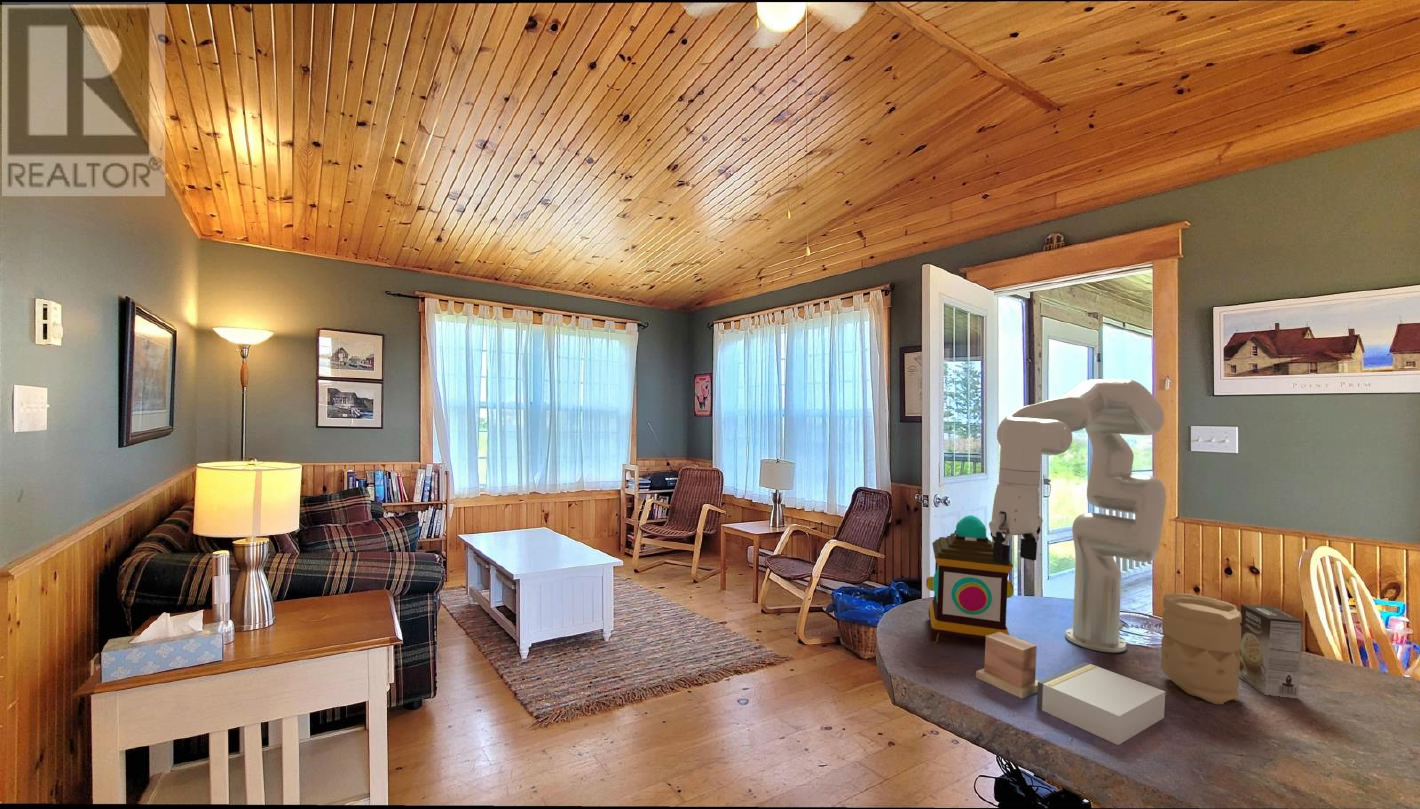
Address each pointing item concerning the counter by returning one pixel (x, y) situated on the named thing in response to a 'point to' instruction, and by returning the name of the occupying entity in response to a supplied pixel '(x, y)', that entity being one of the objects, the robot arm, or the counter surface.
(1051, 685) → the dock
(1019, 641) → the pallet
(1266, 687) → the coffee box
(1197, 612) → the container
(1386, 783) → the counter surface
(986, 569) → the decorative lantern
